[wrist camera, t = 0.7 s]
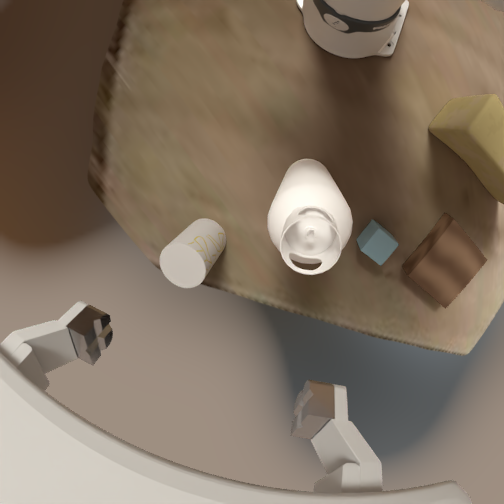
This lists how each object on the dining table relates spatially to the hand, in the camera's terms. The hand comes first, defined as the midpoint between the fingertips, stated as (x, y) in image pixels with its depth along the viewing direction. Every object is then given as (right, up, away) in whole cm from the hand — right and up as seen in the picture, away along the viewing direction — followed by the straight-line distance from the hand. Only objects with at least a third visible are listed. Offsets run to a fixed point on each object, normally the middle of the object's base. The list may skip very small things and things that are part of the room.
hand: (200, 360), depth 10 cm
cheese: (+44, +22, +26) cm, 56 cm away
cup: (-7, +7, +44) cm, 45 cm away
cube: (+25, +7, +37) cm, 45 cm away
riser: (+41, +3, +36) cm, 55 cm away
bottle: (+12, +16, +36) cm, 41 cm away
